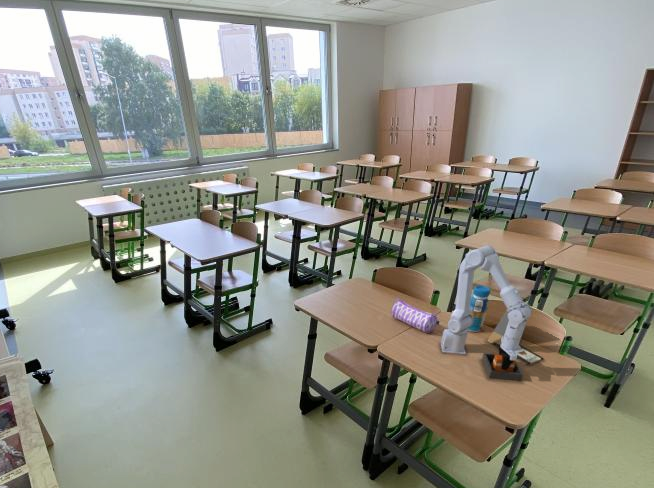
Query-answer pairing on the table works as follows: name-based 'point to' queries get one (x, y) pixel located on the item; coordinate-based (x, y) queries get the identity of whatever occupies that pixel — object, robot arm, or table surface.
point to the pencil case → (414, 316)
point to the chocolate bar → (526, 355)
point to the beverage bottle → (479, 307)
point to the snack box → (498, 362)
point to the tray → (492, 374)
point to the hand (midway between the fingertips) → (502, 366)
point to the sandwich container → (499, 330)
